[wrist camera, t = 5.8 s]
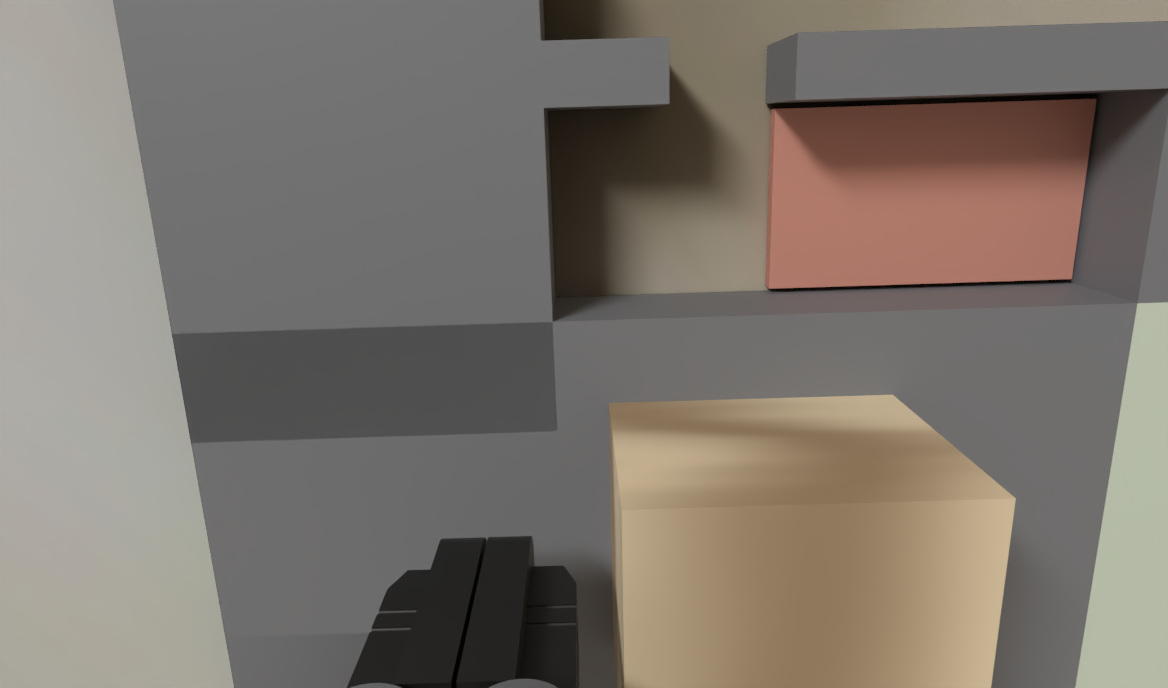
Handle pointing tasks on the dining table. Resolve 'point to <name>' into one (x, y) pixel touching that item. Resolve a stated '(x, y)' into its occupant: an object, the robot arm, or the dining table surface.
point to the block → (801, 547)
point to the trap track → (644, 302)
